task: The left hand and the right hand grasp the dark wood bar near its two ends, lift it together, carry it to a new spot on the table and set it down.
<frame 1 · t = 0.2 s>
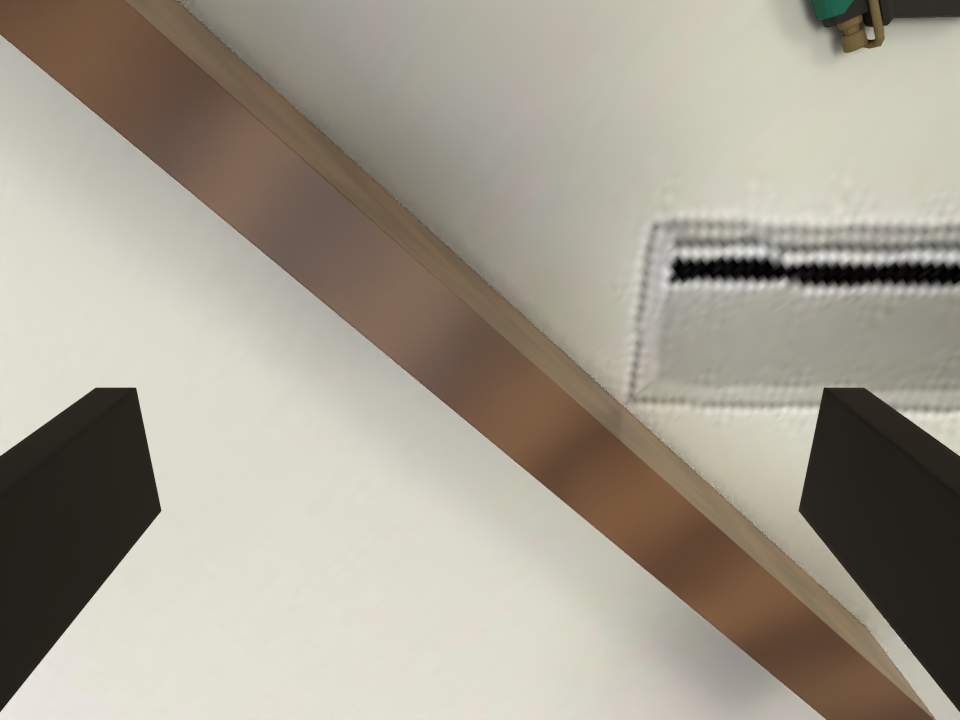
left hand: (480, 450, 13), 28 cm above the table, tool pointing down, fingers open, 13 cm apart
bar: (469, 316, 41), on the table
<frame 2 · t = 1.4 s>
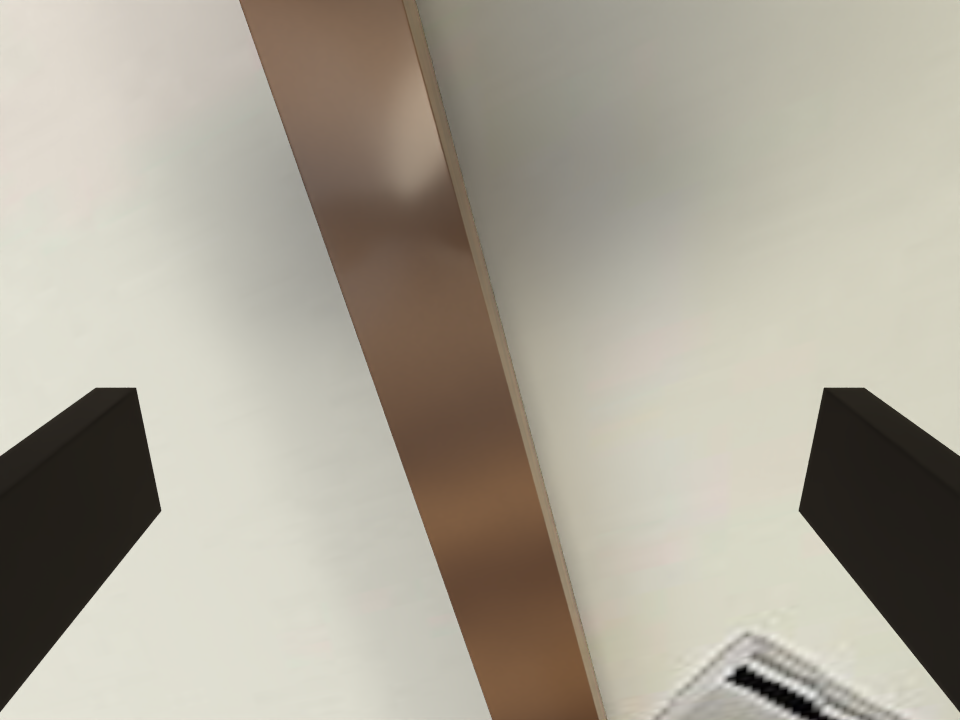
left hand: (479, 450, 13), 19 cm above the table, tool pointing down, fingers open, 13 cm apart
bar: (539, 619, 38), on the table
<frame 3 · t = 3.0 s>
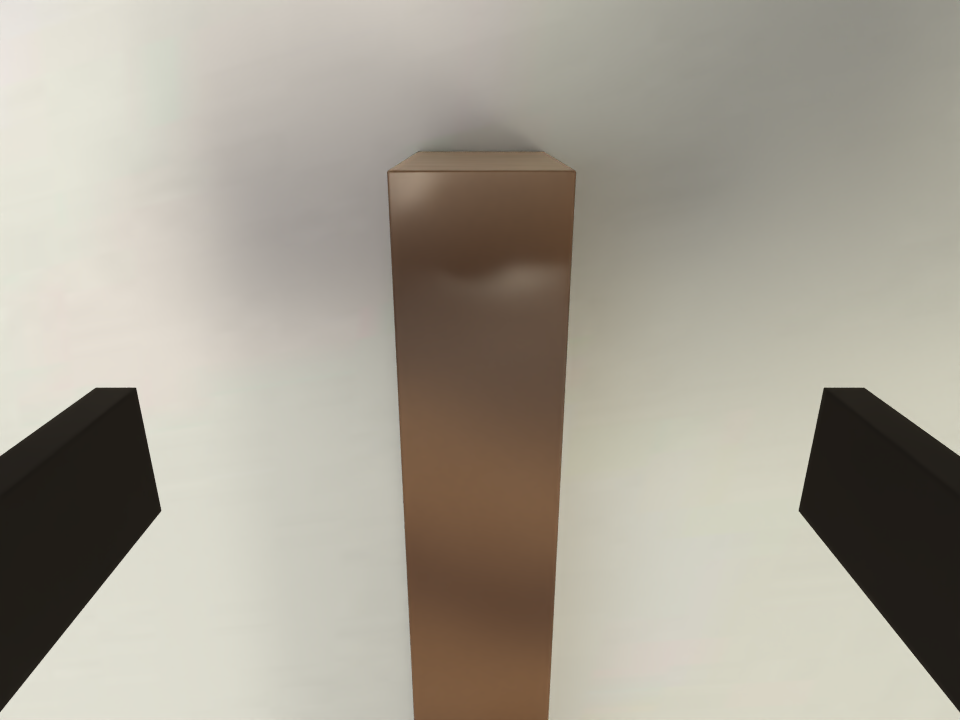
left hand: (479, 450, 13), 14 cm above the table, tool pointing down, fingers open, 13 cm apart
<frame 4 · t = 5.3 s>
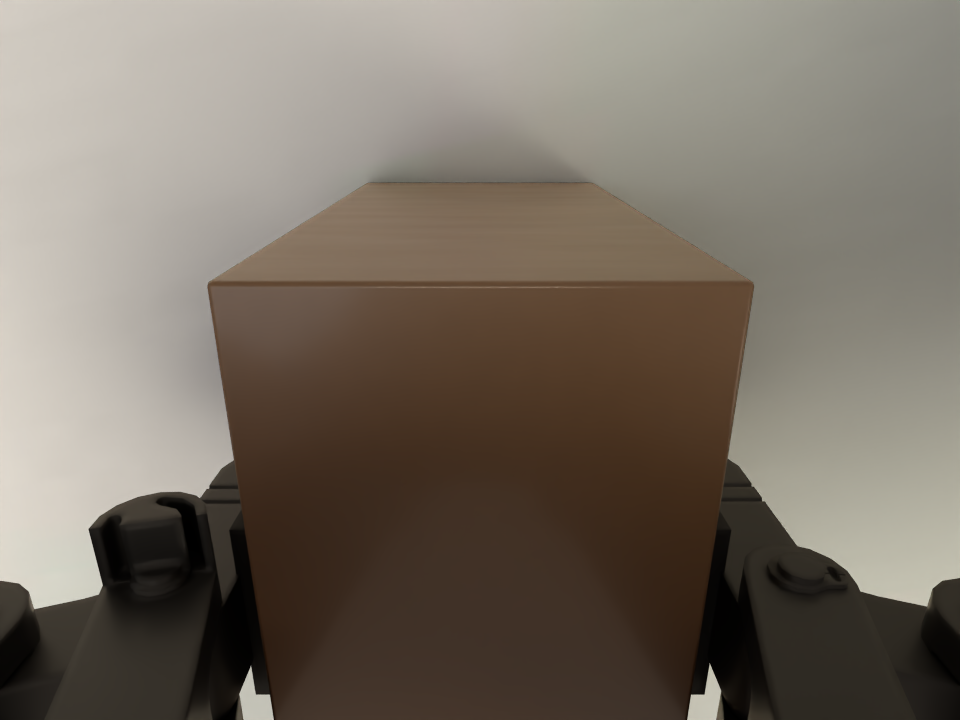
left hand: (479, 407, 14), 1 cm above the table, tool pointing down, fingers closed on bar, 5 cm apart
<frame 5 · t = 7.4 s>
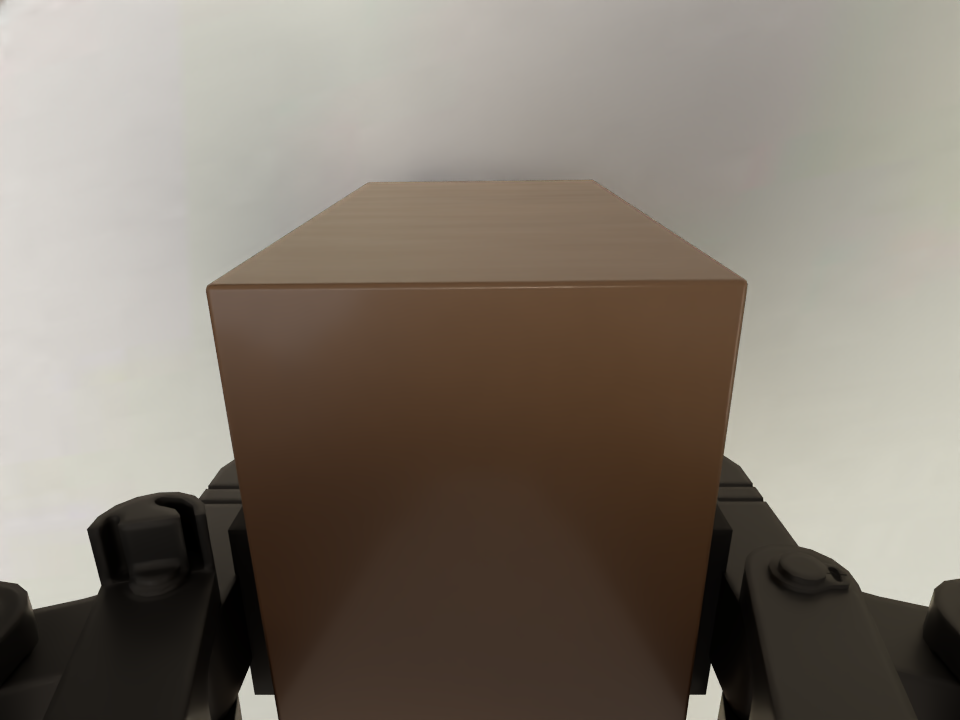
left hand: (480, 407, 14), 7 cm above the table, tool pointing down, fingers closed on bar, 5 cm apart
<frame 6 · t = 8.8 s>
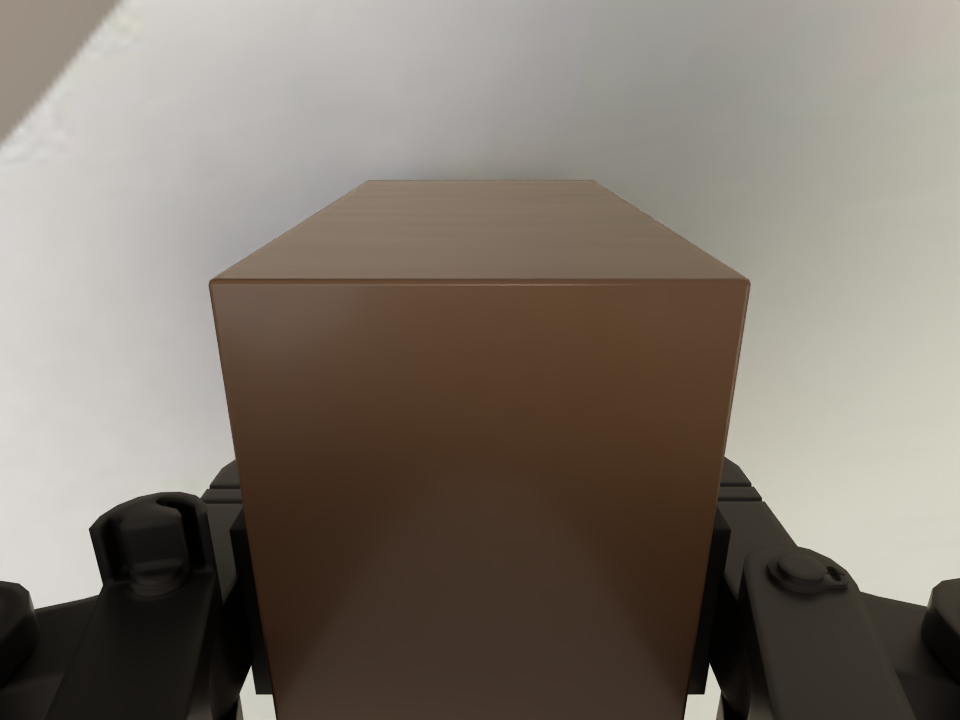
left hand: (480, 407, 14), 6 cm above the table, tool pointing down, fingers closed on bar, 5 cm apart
when the left hand's fingers open (2 cm above the table, at t = 9.5 s): bar drops 2 cm, on the table.
when the right hand's fingers open (5 cm above the table, at t = 9.7 s): bar stays where it is, on the table.
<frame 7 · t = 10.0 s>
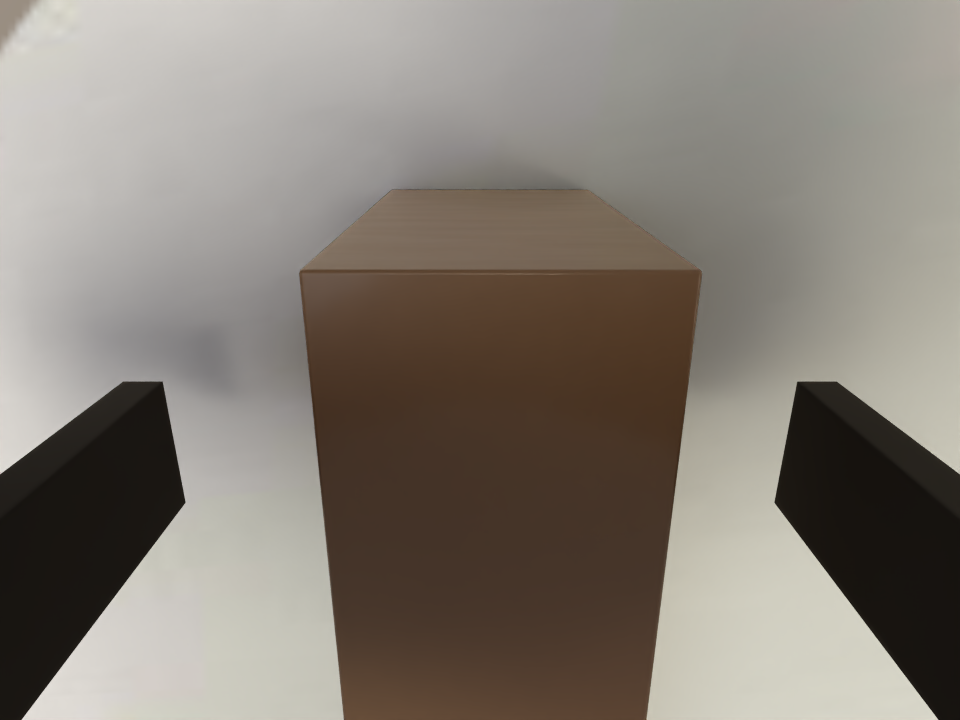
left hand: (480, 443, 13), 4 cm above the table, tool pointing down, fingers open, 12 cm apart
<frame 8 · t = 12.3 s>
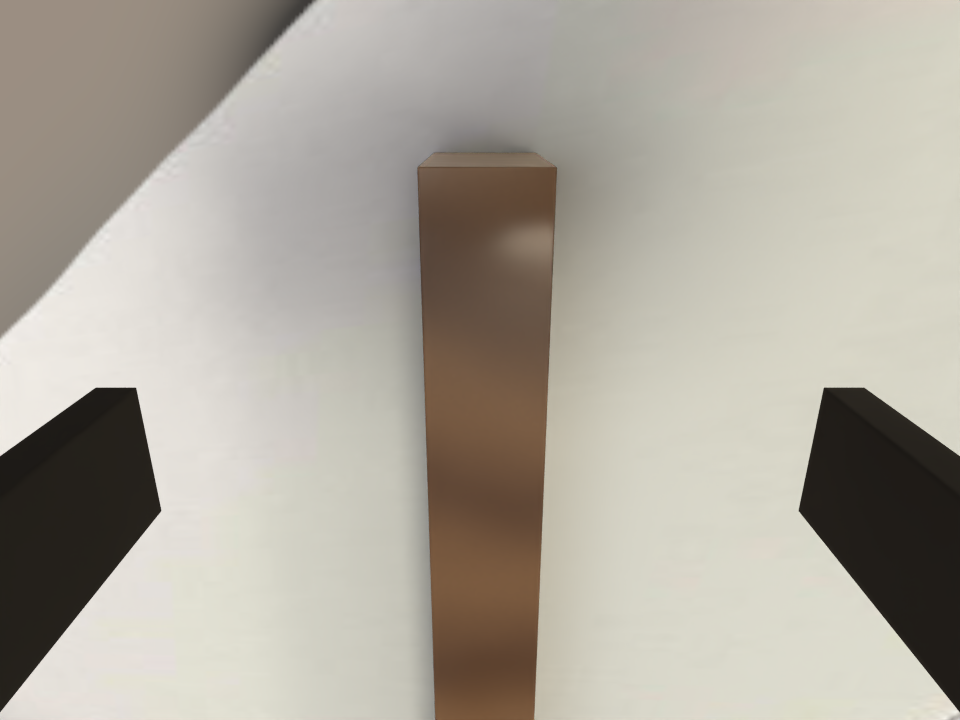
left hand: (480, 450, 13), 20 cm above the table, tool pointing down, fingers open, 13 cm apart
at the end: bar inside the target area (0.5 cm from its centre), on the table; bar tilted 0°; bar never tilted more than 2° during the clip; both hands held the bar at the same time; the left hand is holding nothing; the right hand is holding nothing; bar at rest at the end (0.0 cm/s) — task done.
